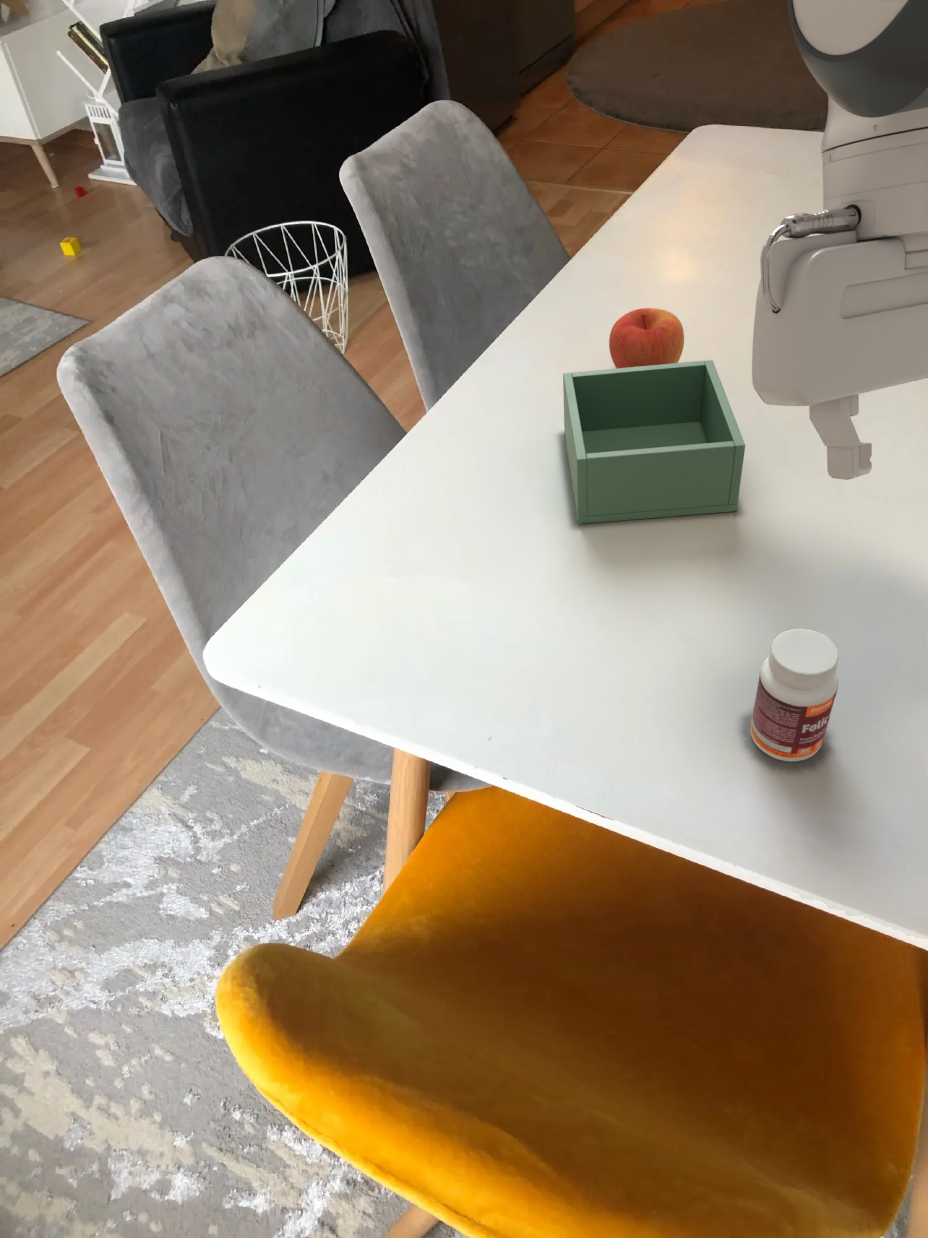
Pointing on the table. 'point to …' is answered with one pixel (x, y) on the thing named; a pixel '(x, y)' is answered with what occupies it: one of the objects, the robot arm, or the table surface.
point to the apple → (646, 338)
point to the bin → (651, 442)
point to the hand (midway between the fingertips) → (908, 459)
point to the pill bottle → (795, 695)
